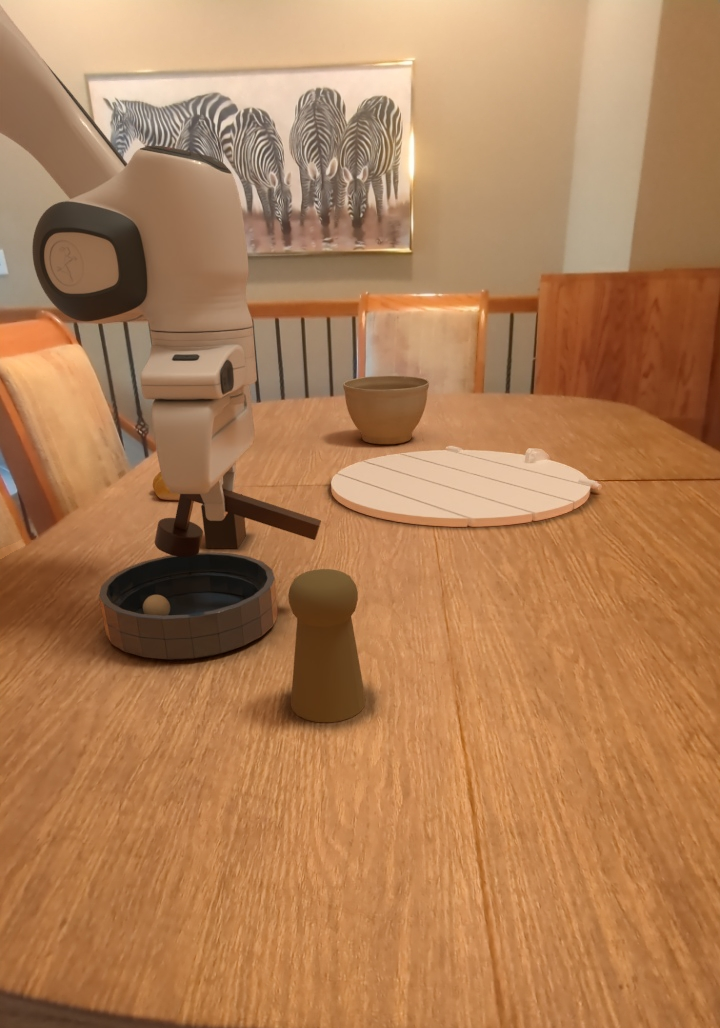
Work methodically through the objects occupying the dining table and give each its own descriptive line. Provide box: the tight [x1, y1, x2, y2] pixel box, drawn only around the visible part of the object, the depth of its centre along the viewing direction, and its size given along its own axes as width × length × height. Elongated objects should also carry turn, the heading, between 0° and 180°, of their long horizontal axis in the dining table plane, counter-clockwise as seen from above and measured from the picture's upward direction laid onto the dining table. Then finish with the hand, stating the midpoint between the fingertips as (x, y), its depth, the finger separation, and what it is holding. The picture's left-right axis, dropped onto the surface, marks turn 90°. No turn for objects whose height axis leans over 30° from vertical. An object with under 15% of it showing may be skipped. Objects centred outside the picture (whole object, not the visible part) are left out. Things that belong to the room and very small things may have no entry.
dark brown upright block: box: [200, 493, 247, 550], centre depth 95 cm, size 4×5×6 cm
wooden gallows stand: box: [154, 488, 322, 557], centre depth 74 cm, size 15×4×7 cm, turn 85°
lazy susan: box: [330, 445, 603, 528], centre depth 116 cm, size 40×39×3 cm
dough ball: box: [143, 595, 170, 616], centre depth 74 cm, size 3×3×3 cm
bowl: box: [98, 551, 279, 661], centre depth 73 cm, size 16×16×4 cm
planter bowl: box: [342, 375, 430, 445], centre depth 144 cm, size 16×16×11 cm
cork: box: [287, 568, 366, 724], centre depth 58 cm, size 6×6×11 cm
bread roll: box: [152, 471, 180, 501], centre depth 115 cm, size 8×9×4 cm
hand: (221, 513), depth 73 cm, fingers closed on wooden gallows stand
